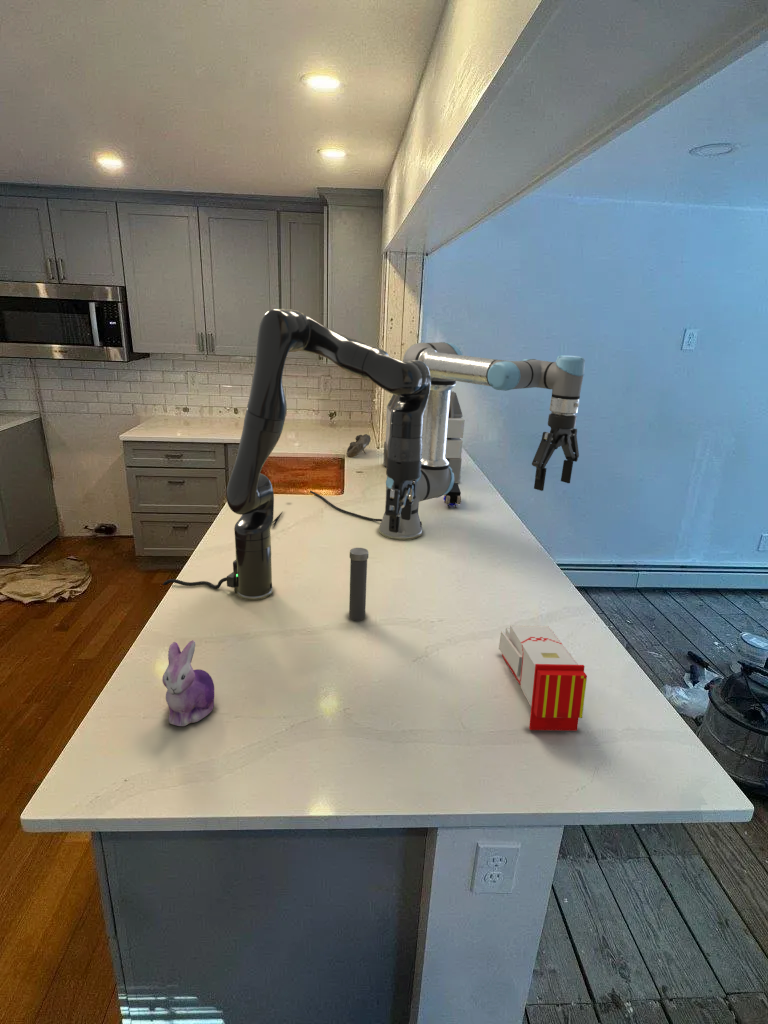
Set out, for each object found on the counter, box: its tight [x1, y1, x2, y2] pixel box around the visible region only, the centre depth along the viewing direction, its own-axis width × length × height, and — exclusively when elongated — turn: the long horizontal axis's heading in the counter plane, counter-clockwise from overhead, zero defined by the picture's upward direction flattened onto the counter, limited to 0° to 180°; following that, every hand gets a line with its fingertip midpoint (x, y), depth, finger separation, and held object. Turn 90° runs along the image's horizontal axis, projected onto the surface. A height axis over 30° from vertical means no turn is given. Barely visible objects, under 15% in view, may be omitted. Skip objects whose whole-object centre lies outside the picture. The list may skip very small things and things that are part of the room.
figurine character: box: [442, 483, 462, 509], centre depth 232 cm, size 7×8×15 cm
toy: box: [498, 624, 588, 732], centre depth 119 cm, size 12×13×30 cm
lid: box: [349, 547, 369, 561], centre depth 139 cm, size 5×5×2 cm
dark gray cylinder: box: [348, 559, 368, 622], centre depth 142 cm, size 4×4×18 cm
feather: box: [272, 512, 283, 529], centre depth 212 cm, size 2×28×2 cm
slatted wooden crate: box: [383, 390, 465, 484], centre depth 268 cm, size 34×33×41 cm
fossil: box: [346, 433, 372, 458], centre depth 305 cm, size 22×10×15 cm
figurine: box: [161, 640, 215, 727], centre depth 107 cm, size 9×10×15 cm
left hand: (400, 525), depth 128 cm, fingers open, 8 cm apart
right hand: (552, 485), depth 166 cm, fingers open, 13 cm apart
